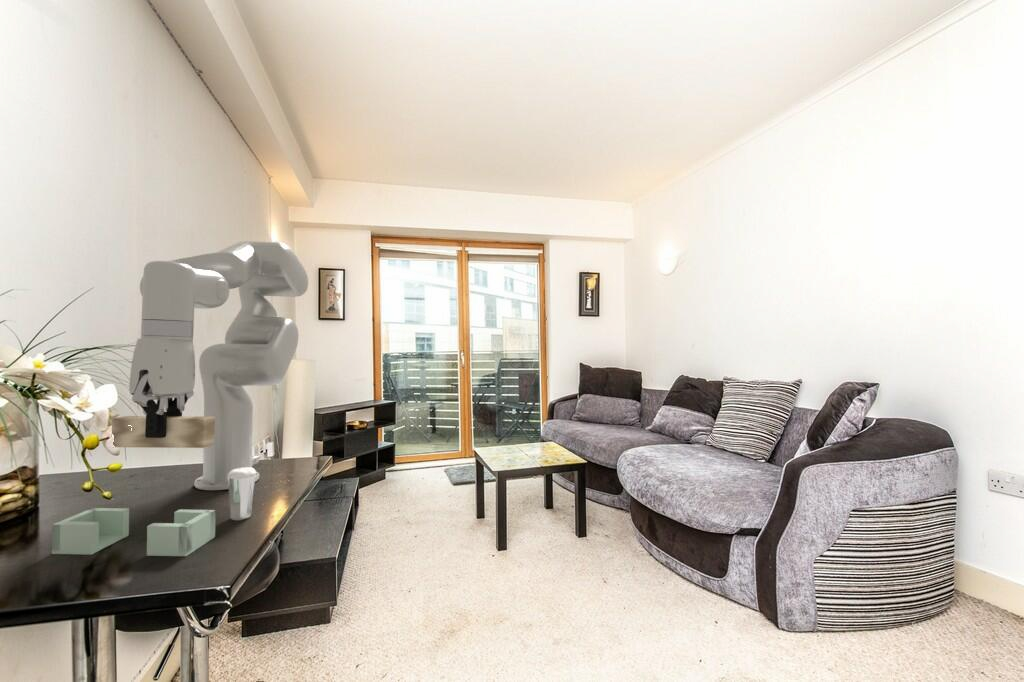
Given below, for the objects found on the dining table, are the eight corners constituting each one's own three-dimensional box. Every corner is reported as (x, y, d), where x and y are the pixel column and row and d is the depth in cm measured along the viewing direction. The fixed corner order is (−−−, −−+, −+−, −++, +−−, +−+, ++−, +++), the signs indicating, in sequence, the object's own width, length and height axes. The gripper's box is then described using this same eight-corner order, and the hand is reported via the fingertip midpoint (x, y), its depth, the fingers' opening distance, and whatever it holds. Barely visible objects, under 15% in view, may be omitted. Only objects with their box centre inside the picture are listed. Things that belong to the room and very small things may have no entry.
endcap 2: (215, 536, 78) (215, 510, 78) (186, 556, 71) (186, 526, 71) (179, 536, 78) (179, 509, 78) (146, 555, 71) (147, 526, 71)
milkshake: (256, 509, 90) (256, 458, 90) (254, 519, 85) (255, 465, 85) (228, 513, 88) (229, 460, 88) (225, 523, 83) (226, 467, 83)
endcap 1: (52, 553, 71) (52, 524, 71) (92, 534, 78) (93, 507, 78) (91, 554, 71) (91, 525, 71) (128, 535, 78) (129, 508, 78)
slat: (111, 447, 81) (112, 418, 81) (125, 444, 84) (126, 416, 84) (203, 447, 81) (204, 418, 81) (214, 444, 84) (215, 416, 84)
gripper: (179, 334, 91) (175, 428, 91) (106, 328, 75) (101, 444, 74) (217, 334, 91) (214, 429, 91) (153, 329, 75) (148, 444, 74)
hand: (163, 434), depth 82 cm, fingers closed on slat, 3 cm apart
